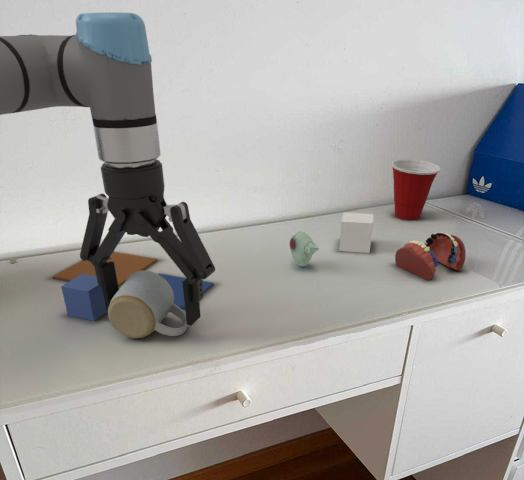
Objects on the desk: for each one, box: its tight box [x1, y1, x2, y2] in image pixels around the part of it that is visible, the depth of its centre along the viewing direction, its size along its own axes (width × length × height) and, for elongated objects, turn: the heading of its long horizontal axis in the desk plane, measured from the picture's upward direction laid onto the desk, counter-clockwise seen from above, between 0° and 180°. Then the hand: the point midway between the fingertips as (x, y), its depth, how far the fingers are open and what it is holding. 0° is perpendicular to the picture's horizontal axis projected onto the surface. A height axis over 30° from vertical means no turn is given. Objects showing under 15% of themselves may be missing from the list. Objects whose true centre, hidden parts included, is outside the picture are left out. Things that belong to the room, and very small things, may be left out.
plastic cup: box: [390, 158, 441, 221], centre depth 118 cm, size 11×11×12 cm
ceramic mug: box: [107, 269, 189, 339], centre depth 74 cm, size 11×8×8 cm
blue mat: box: [157, 273, 215, 310], centre depth 87 cm, size 11×10×1 cm
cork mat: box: [52, 251, 158, 287], centre depth 95 cm, size 13×14×1 cm
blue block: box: [60, 274, 108, 322], centre depth 80 cm, size 5×5×5 cm
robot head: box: [289, 230, 320, 268], centre depth 94 cm, size 8×4×7 cm, turn 25°
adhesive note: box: [338, 212, 374, 254], centre depth 103 cm, size 6×6×6 cm
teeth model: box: [394, 231, 466, 281], centre depth 93 cm, size 8×6×12 cm
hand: (152, 313), depth 75 cm, fingers open, 13 cm apart
